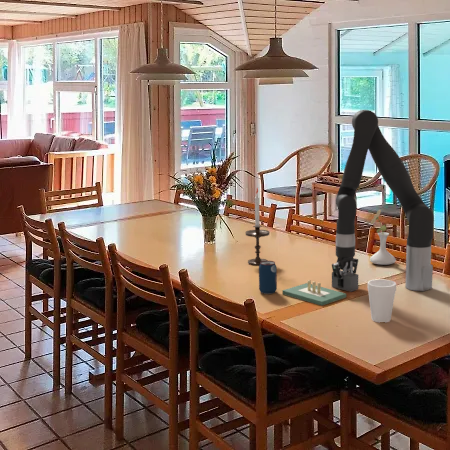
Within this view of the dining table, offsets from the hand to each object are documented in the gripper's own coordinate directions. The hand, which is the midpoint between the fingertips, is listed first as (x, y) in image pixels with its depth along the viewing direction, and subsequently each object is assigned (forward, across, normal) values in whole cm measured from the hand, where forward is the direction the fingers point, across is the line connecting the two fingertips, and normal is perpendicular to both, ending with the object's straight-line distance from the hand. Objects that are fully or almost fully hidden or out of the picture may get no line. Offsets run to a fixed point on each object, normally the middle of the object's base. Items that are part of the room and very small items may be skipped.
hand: (344, 286), depth 268 cm
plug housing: (+1, 0, 0) cm, 1 cm away
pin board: (+1, -16, +2) cm, 16 cm away
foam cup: (+1, -20, -32) cm, 38 cm away
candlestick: (+1, +3, +53) cm, 53 cm away
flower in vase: (+1, +40, +12) cm, 42 cm away
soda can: (+1, -25, +18) cm, 31 cm away
